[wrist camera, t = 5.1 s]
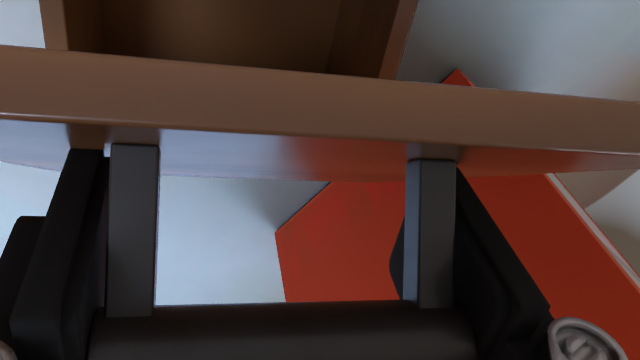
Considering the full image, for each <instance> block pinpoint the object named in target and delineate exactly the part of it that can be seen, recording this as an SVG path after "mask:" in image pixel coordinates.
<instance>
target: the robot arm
mask: <svg viewBox="0 0 640 360" xmlns="http://www.w3.org/2000/svg"><path fill="white" fill-rule="evenodd" d="M109 170H110V157H105V156H104V151H103V150H97V149H76V148H70V150H69V152H68V155H67V158H66V161H65V164H64V166H63V169H62V172H61V175H60V178H59V181H58V183H57V186H56V189H55V192H54V195H53V198H52V200H51V203H50V206H49V209H48V212H47V215H46V216H21V217H19V218H18V219H17V221H16V223H15V224H14V227H13V229H12V232H11V234H10V236H9V239H8V241H7V243H6V246H5V248H4V251H3V253H2V255H1V258H0V360H85V359H86V350H87V343H88V337H89V332H90V327H91V323H92V319H93V316H94V314H95V312H96V310H97V309H98V308H99V307H104V292H105V268H106V243H107V219H108V195H109ZM404 233H405V216H404V219H403V221H402V224H401V227H400V230H399V233H398V236H397V239H396V241H395V244H394V247H393V250H392V253H391V256H390V259H389V272H390V275H391V278H392V280H393V283H394V286H395V288H396V291H397V293H398V296H399V299H400V300H403V276H404ZM454 302H456V303H457V304H458V305H459V306H460V307H461V308H462V309H463V311H464V312H465V314H466V315H467V317H468V319H469V322H470V324H471V327H472V329H473V333H474V336H475V341H476V347H477V356H478V360H628V358H627V356H626V354H625V352H624V350H623V349H622V348H621V346H620V345H619V344H618V343H617V342H616V340H615V339H614V338H613V337H611V336H610V335H609V334H608V333H607V332H605V331H604V330H603V329H601V328H599V327H598V326H596V325H594V324H593V323H591V322H588V321H585V320H583V319H580V318H575V317H569V316H568V317H559V318H557V319H554V318H553V316H552V315H551V313H550V312H549V309H550V307H551V306H550V304H549V303H548V301H547V300H546V298H545V297H544V295H543V294H542V292H541V291H540V289H539V288H538V286H537V285H536V283H535V282H534V280H533V279H532V277H531V276H530V274H529V273H528V271H527V270H526V268H525V267H524V265H523V264H522V262H521V261H520V259H519V258H518V256H517V255H516V253H515V252H514V250H513V249H512V247H511V246H510V244H509V243H508V241H507V240H506V238H505V237H504V235H503V234H502V232H501V231H500V229H499V228H498V226H497V225H496V223H495V222H494V220H493V219H492V217H491V216H490V214H489V213H488V211H487V210H486V208H485V207H484V205H483V204H482V202H481V201H480V199H479V198H478V196H477V195H476V193H475V192H474V190H473V189H472V187H471V186H470V184H469V183H468V181H467V180H466V178H465V177H464V175H463V174H462V172H461V171H460V169H459V168H458V167H456V203H455V252H454Z"/></svg>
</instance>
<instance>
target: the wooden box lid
mask: <svg viewBox="0 0 640 360" xmlns="http://www.w3.org/2000/svg"><path fill="white" fill-rule="evenodd" d="M70 148H76V149H97V150H103V151H104V156H105V157H110V170H109V195H108V219H107V243H106V268H105V292H104V307H99V308H98V309H97V310H96V312H95V314H94V316H93V319H92V323H91V327H90V332H89V337H88V343H87V350H86V359H85V360H478V356H477V347H476V341H475V336H474V333H473V329H472V327H471V324H470V322H469V319H468V317H467V315H466V314H465V312H464V311H463V309H462V308H461V307H460V306H459V305H458V304H457V303H456V302H454V252H455V203H456V167H458V168H459V169H460V171H461V172H462V174H463V175H464V177H465V178H470V177H489V176H508V175H527V174H546V173H565V172H584V171H603V170H622V169H640V102H639V101H627V100H616V99H605V98H594V97H583V96H571V95H560V94H549V93H538V92H527V91H515V90H504V89H493V88H482V87H471V86H459V85H448V84H437V83H426V82H415V81H403V80H392V79H381V78H370V77H358V76H347V75H336V74H325V73H314V72H302V71H291V70H280V69H269V68H258V67H246V66H235V65H224V64H213V63H202V62H190V61H179V60H168V59H157V58H146V57H134V56H123V55H112V54H101V53H90V52H78V51H67V50H56V49H45V48H34V47H22V46H11V45H0V162H5V163H11V164H17V165H23V166H28V167H34V168H40V169H46V170H52V171H58V172H62V169H63V166H64V164H65V161H66V158H67V155H68V152H69V150H70ZM160 175H166V176H193V177H221V178H249V179H277V180H305V181H332V182H360V183H376V182H395V181H406V190H405V233H404V276H403V300H363V301H320V302H278V303H235V304H192V305H155V302H156V276H157V250H158V223H159V197H160Z"/></svg>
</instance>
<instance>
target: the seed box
mask: <svg viewBox="0 0 640 360" xmlns="http://www.w3.org/2000/svg"><path fill="white" fill-rule="evenodd" d="M418 1H419V0H39V4H40V11H41V19H42V26H43V33H44V40H45V48H46V49H56V50H67V51H78V52H90V53H101V54H112V55H123V56H134V57H146V58H157V59H168V60H179V61H190V62H202V63H213V64H224V65H235V66H246V67H258V68H269V69H280V70H291V71H302V72H314V73H325V74H336V75H347V76H358V77H370V78H381V79H392V80H395V77H396V74H397V70H398V67H399V64H400V60H401V57H402V54H403V51H404V47H405V44H406V41H407V37H408V34H409V31H410V27H411V24H412V21H413V17H414V14H415V11H416V7H417V4H418Z"/></svg>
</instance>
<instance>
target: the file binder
mask: <svg viewBox="0 0 640 360" xmlns="http://www.w3.org/2000/svg"><path fill="white" fill-rule="evenodd" d="M441 84H448V85H459V86H471V87H475V85H474V84H473V83H472V82H471V81H470V80H469V79H468V78H467V77H466V76H465V75H464V74H463V73H462V72H461V71H460V70H459V69H457V70H455V71H454V72H453V73H452V74H451V75H450V76H449V77H448V78H447V79H445V80H444V81H443V82H442V83H441ZM466 180H467V181H468V183H469V184H470V186H471V187H472V189H473V190H474V192H475V193H476V195H477V196H478V198H479V199H480V201H481V202H482V204H483V205H484V207H485V208H486V210H487V211H488V213H489V214H490V216H491V217H492V219H493V220H494V222H495V223H496V225H497V226H498V228H499V229H500V231H501V232H502V234H503V235H504V237H505V238H506V240H507V241H508V243H509V244H510V246H511V247H512V249H513V250H514V252H515V253H516V255H517V256H518V258H519V259H520V261H521V262H522V264H523V265H524V267H525V268H526V270H527V271H528V273H529V274H530V276H531V277H532V279H533V280H534V282H535V283H536V285H537V286H538V288H539V289H540V291H541V292H542V294H543V295H544V297H545V298H546V300H547V301H548V303H549V304H550V306H551V307H550V309H549V312H550V313H551V315H552V316H553V318H554V319H557V318H559V317H568V316H569V317H575V318H580V319H583V320H585V321H588V322H591V323H593V324H594V325H596V326H598V327H599V328H601V329H603V330H604V331H605V332H607V333H608V334H609V335H610V336H611V337H613V338H614V339H615V340H616V342H617V343H618V344H619V345H620V346H621V348H622V349H623V350H624V352H625V354H626V356H627V358H628V360H640V276H639V275H638V274H637V272H636V271H635V270H634V269H633V268H632V267H631V265H630V264H629V263H628V262H627V260H626V259H625V258H624V257H623V256H622V254H621V253H620V252H619V251H618V250H617V249H616V247H615V246H614V245H613V244H612V242H611V241H610V240H609V239H608V238H607V237H606V235H605V234H604V233H603V232H602V230H601V229H600V228H599V227H598V226H597V225H596V223H595V222H594V221H593V220H592V218H591V217H590V216H589V215H588V214H587V212H586V211H585V210H584V209H583V208H582V206H581V205H580V204H579V203H578V202H577V200H576V199H575V198H574V197H573V196H572V194H571V193H570V192H569V191H568V190H567V188H566V187H565V186H564V185H563V184H562V182H561V181H560V180H559V179H558V178H557V176H556V175H555V174H554V173H546V174H527V175H508V176H489V177H470V178H466ZM405 190H406V181H395V182H376V183H360V182H331V183H330V184H329V185H327V186H326V187H325V188H324V189H323V190H322V191H321V192H320V193H319V194H317V195H316V196H315V197H314V198H313V199H312V200H311V201H310V202H309V203H307V204H306V205H305V206H304V207H303V208H302V209H301V210H300V211H298V212H297V213H296V214H295V215H294V216H293V217H292V218H291V219H290V220H288V221H287V222H286V223H285V224H284V225H283V226H282V227H281V228H280V229H278V230H277V231H276V232H275V239H276V245H277V251H278V257H279V263H280V269H281V275H282V281H283V287H284V293H285V299H286V302H320V301H363V300H400V299H399V296H398V293H397V291H396V288H395V286H394V283H393V280H392V278H391V275H390V272H389V259H390V256H391V253H392V250H393V247H394V244H395V241H396V239H397V236H398V233H399V230H400V227H401V224H402V221H403V219H404V216H405Z"/></svg>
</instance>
